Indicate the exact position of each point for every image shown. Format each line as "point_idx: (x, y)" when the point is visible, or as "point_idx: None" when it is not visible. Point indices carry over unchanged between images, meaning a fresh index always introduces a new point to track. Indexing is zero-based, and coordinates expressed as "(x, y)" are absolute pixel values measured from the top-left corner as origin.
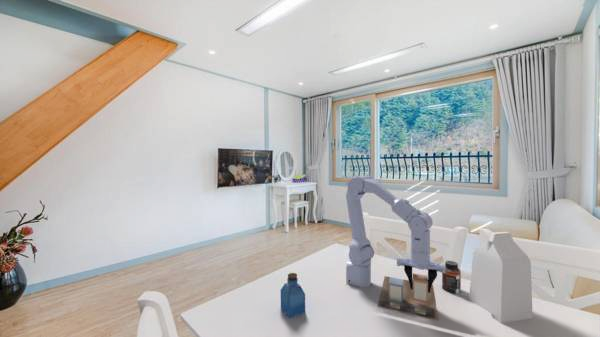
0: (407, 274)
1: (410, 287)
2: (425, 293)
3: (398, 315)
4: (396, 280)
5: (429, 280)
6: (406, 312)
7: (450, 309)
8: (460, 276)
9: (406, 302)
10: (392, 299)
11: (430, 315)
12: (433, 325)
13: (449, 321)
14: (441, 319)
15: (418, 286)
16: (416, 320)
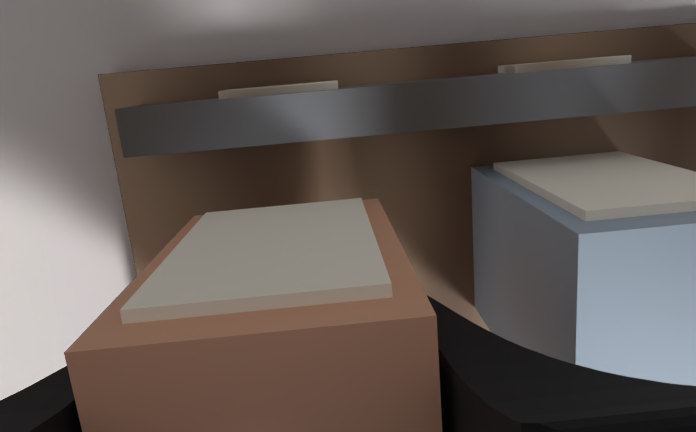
0: (614, 382)
1: (435, 302)
2: (194, 242)
3: (493, 12)
4: (688, 365)
5: (24, 418)
6: (422, 52)
7: (36, 379)
8: None
9: (436, 251)
10: (603, 158)
11: (174, 99)
12: (149, 11)
13: (19, 166)
14: (91, 162)
15: (299, 261)
16: (313, 14)
